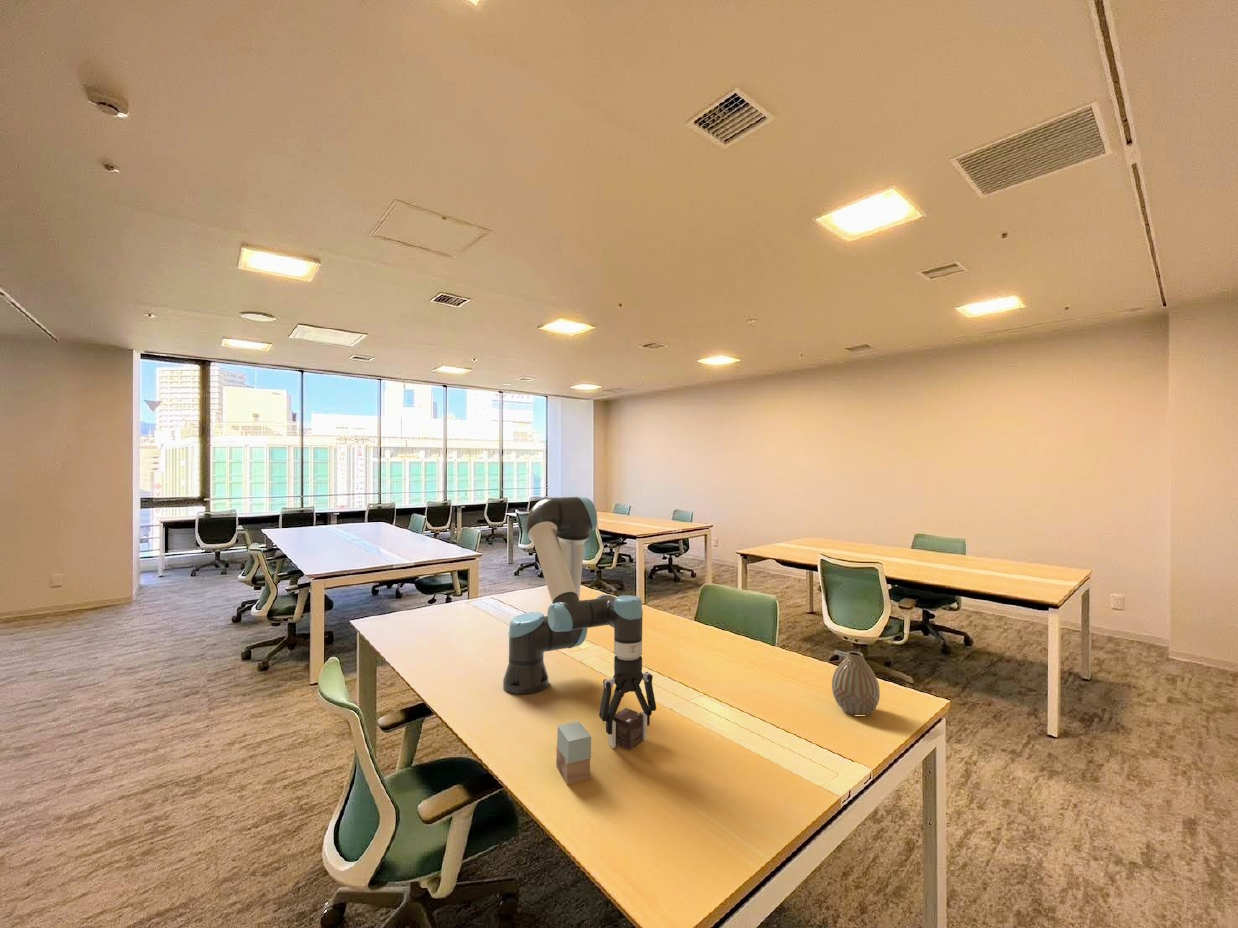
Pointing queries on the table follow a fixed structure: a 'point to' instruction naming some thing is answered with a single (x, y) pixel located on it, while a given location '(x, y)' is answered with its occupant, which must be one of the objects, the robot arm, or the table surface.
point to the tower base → (573, 769)
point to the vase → (855, 685)
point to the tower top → (574, 742)
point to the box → (628, 728)
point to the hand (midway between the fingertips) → (628, 741)
